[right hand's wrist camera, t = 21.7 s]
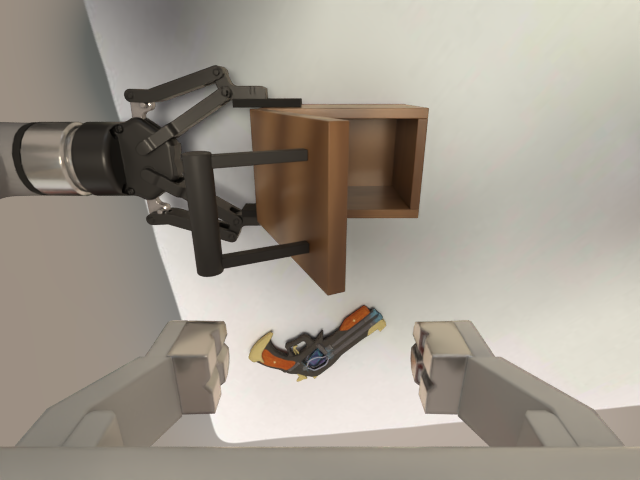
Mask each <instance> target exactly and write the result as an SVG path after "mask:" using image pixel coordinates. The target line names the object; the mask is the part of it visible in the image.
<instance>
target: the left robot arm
mask: <svg viewBox="0 0 640 480" xmlns="http://www.w3.org/2000/svg"><path fill="white" fill-rule="evenodd" d="M214 83H216V85H217V88H218V90H216V91H215V92H214V93H212V94H211V95H209V96H208V97H206V98H205V99H204V100H202V101H201V102H199V103H198V104H196V105H195V106H194V107H192V108H191V109H189V110H188V111H186V112H185V113H184V114H182V115H181V116H179V117H178V118H176V119H175V120H174V121H172V122H171V123H169V124H167V125H165V126H164V127H162V128H161V127H160V126H158V125H157V124H155V123H154V122H152V121H151V120H149V119H148V118H146V114H147V113H148V112H149V111H152V110H154V109H155V102H163V101H166V100H169V99H172V98H175V97H178V96H181V95H183V94H186V93H189V92H192V91H195V90H197V89H200V88H203V87H206V86H209V85H212V84H214ZM124 96H125V99H126V100H127V101H129V102H130V103H131V110H132V118H131V119H130V120H128V121H126V122H86V123H80V122H33V123H9V122H0V199H1V198H5V197H10V196H30V195H62V196H89V195H92V194H93V195H97V196H131V195H134V196H139V197H142V198H144V199H146V200H147V203H148V208H149V213H150V214H149V215H148V216H147V217H146V220H147V222H148V223H149V224H150V225H165V224H169V225H172V226H176V227H179V228H183V229H186V230H190V231H192V230H191V223H190V216H189V211H187V210H184V209H180V208H171V207H170V204H168V203H165V202H162V201H161V200H160V199H159V196H161V195H162V194H163V193H164V192H168V193H170V194H172V195H174V196H176V197H180V198H183V199H185V200H187V194H186V186H185V179H184V176H183V175H182V174H183V173H184V172H183V164H182V160H181V143H178V141H177V139H176V138H178V137H179V136H181V135H182V134H184V133H185V132H186V131H187V130H189V129H190V128H192V127H193V126H194V125H196V124H197V123H199V122H200V121H202V120H203V119H205V118H206V117H208V116H209V115H210V114H212V113H213V112H215V111H216V110H218V109H219V108H221V107H222V106H224V105H225V104H226V103H228V102H229V101H231V100H233V107H301V106H302V99H268V92H267V88H265V87H263V86H236V85H234V84H233V83H232V82H231V80H230V77H229V75H228V70H227V69H226V68H224V67H221V66H217V65H215V66H211V67H209V68H206V69H203V70H200V71H198V72H195V73H192V74H189V75H187V76H184V77H181V78H178V79H176V80H173V81H170V82H167V83H164V84H162V85H159V86H156V87H153V88H151V89H127V90H126V91H125V93H124ZM216 201H217V211H218V218H220V219H222V220H223V221H221V220H219V229H220V239H221V240H225V241H228V242H235V241H236V240H237V238H238V236H239V235H240V233H241V229H242V227H243V226H248V225H260V224H259V223H258V221H257V210H256V204H245V206H244V207H243V209H242V210H241V209H239V208H237V207H236V206H234V205H232V204H230V203H228V202H227V201H225V200H223V199H221V198H220V197H218V196H216Z"/></svg>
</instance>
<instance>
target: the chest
mask: <svg viewBox="0 0 640 480" xmlns="http://www.w3.org/2000/svg"><path fill="white" fill-rule="evenodd" d="M258 109H269V110H276V111H284V112H291V113H298V114H306V115H313V116H320V117H328V118H335V119H342V120H349V156H348V195H347V218H418V213H419V203H420V192H421V182H422V172H423V162H424V152H425V142H426V132H427V122H428V119H427V118H428V112H429V108H424V107H418V106H412V105H406V104H302V106H301V107H262V108H258Z"/></svg>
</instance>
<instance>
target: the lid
mask: <svg viewBox="0 0 640 480" xmlns="http://www.w3.org/2000/svg"><path fill="white" fill-rule="evenodd" d="M250 120H251V135H252V150H253V152H238V153H222V154H211V152H207V151H192V152H185V153H182V154H181V157H182V164H183V172H184V179H185V186H186V194H187V201H188V208H189V216H190V223H191V230H192V238H193V245H194V252H195V260H196V267H197V273H198V275H200V276H203V277H211V276H216V275H219V274H221V273H222V272H223V270H224V269H225V268H230V267H236V266H241V265H246V264H252V263H257V262H263V261H268V260H274V259H279V258H284V257H290V256H291V257H292V258H293V259H294V260H295V261H296V263H297V264H298V265H299V266H300V267H301V268H302V269H303V270H304V271H305V272H306V273H307V274H308V275H309V276H310V277H311V278H312V279H313V280H314V281H315V283H316V284H317V285H318V286H319V287H320V288H321V289H322V290H323V291H324V292H325V293H326V294H327V295H332V294H336V293H341V292H345V272H346V234H347V195H348V156H349V120H342V119H335V118H328V117H320V116H313V115H306V114H298V113H291V112H284V111H276V110H269V109H250ZM251 165H254V180H255V195H256V210H257V221H258V223H259V224H260V225H261V226H262V227H263V228H264V229H265V230H266V231H267V232H268V233H269V234H270V235H271V236H272V237H273V238H274V239H275V240H276V241H277V243H278V244H279V245H275V246H269V247H263V248H257V249H251V250H245V251H240V252H234V253H228V254H222V248H221V239H220V229H219V220H218V211H217V201H216V192H215V183H214V173H213V169H214V168H226V167H239V166H251Z"/></svg>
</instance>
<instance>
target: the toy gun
mask: <svg viewBox="0 0 640 480" xmlns="http://www.w3.org/2000/svg"><path fill="white" fill-rule="evenodd" d="M385 326H386V322H385V321H384V320H383V317H382V315H381V314H380V313H378V312H377V311H376V309H371V310H369V309H368V308H367V307H366V306H362V307H361V308H360V309H358V310H357V311H355V312H354V313H353V314H351V315H350V316H348V317H347V318H346V319H345V320H344V321H343V323H342V325H341V327H340V329H339V330H337V331H336V332H335V333H333V334H332V335H331V336H329V337H327V338H324V339H323V330H322V331H321V333H320V334H319V335H318V337H317V338H316V339H315V340H314V339H312V338H311V337H310V336H309V335H306V334H303V335H301V336H300V337H299V338H297V339H295V340H293V341H291V342H288V343H286V345H285V348H286V349H287V350H288V354H286V353H283V352H281V351H279V350H277V349H276V348H275V347H274V346H273V345H272V343H271V341H270V339H271V337H272V335H273V333H272V332H270V333H268V334H266V335H265V336H264V337H262V338H261V339H260V340H259V341H258V342H257V343H256V344H255V345H254V346H253V348H252V349H251V352H250V354H249V359H250V360H251V361H252V362H258V363H260V364H262V365H264V366H267V367H270V368H274V369H279V370H281V371H283V372H285V373H286V372H287V373H289V374H298V376H299V378H298V379H297V381H301V380H303V379H307V377H306V376H311V377H313V378H314V379H315V378H316V377H317V376H318V375H320V374H321V373H322V372H324V371H325V370H326V369H328V368H329V367H330V366H332V365H333V364H334V363H335V362H336V361H337V360H338V359H339V357H340V356H341V355H342V354H343V353H345V352H346V351H347V350H349V349H350V348H351V347H353V346H354V345H355V344H357V343H358V342H359V341H361V340H362V339H364V338H365V337H366V336H368V335H370V334H371V333H373V332H374V331H375V330H377V329H378V330H379V331H381V330H382V329H383V328H384V327H385ZM302 341H305V342H306V344H307V346H306V347H305V348H303V349H302V350H301V351H300V352H298V350H297V349H296V347H297V344H299V343H300V342H302ZM292 346H293V350H294V349H295V350H296V352H297V353H296V352H295V350H294V353H293V352H292V351H291V349H290V347H292ZM317 347H318V348H317ZM316 348H317V349H316ZM311 353H312V354H311ZM310 354H311V356H310V358H309V359H308V356H309V355H310ZM326 354H327V355H328V359H327V360H326V356H327V355H326ZM306 357H307V361H305V360H304V359H305V358H306ZM324 361H325V362H324ZM323 362H324V363H323ZM321 363H322V364H321ZM319 364H321V365H319ZM318 365H319V366H318ZM311 366H314V367H315V368H312V367H311ZM316 366H317V367H316Z"/></svg>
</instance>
